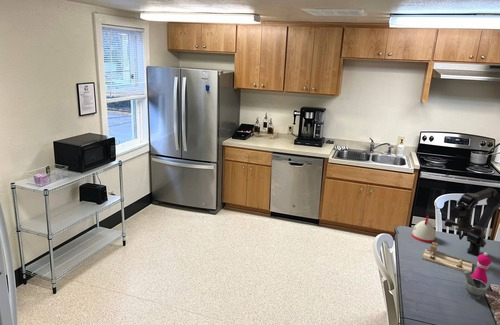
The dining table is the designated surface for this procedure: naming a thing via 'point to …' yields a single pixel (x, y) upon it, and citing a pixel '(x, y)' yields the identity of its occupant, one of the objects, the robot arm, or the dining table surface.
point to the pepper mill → (482, 267)
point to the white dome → (424, 231)
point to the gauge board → (448, 260)
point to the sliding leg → (433, 248)
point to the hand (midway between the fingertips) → (460, 239)
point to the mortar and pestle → (474, 286)
